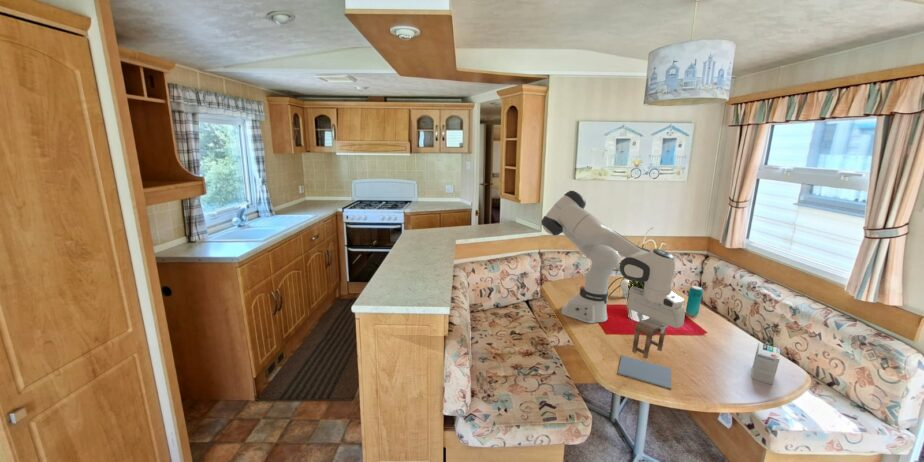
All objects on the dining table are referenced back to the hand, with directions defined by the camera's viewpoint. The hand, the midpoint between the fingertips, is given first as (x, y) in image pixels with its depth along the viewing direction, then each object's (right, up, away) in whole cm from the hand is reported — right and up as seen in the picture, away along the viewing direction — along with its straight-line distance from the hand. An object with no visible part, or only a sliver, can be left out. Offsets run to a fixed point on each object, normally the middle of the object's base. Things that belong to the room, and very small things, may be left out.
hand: (651, 328), depth 141 cm
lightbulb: (+22, -2, +73) cm, 77 cm away
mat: (0, -18, +4) cm, 19 cm away
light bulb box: (+46, -20, +4) cm, 50 cm away
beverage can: (+49, -7, +55) cm, 74 cm away
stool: (+4, -3, +4) cm, 7 cm away
